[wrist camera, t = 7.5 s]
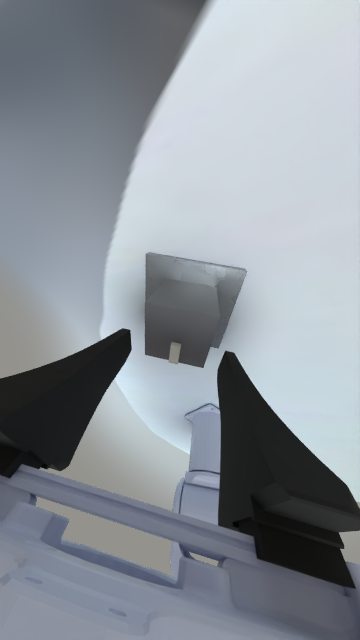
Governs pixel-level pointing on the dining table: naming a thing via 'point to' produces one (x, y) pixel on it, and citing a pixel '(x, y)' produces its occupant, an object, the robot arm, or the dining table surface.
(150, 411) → the dining table surface
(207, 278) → the plate
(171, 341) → the grey cube with tab
